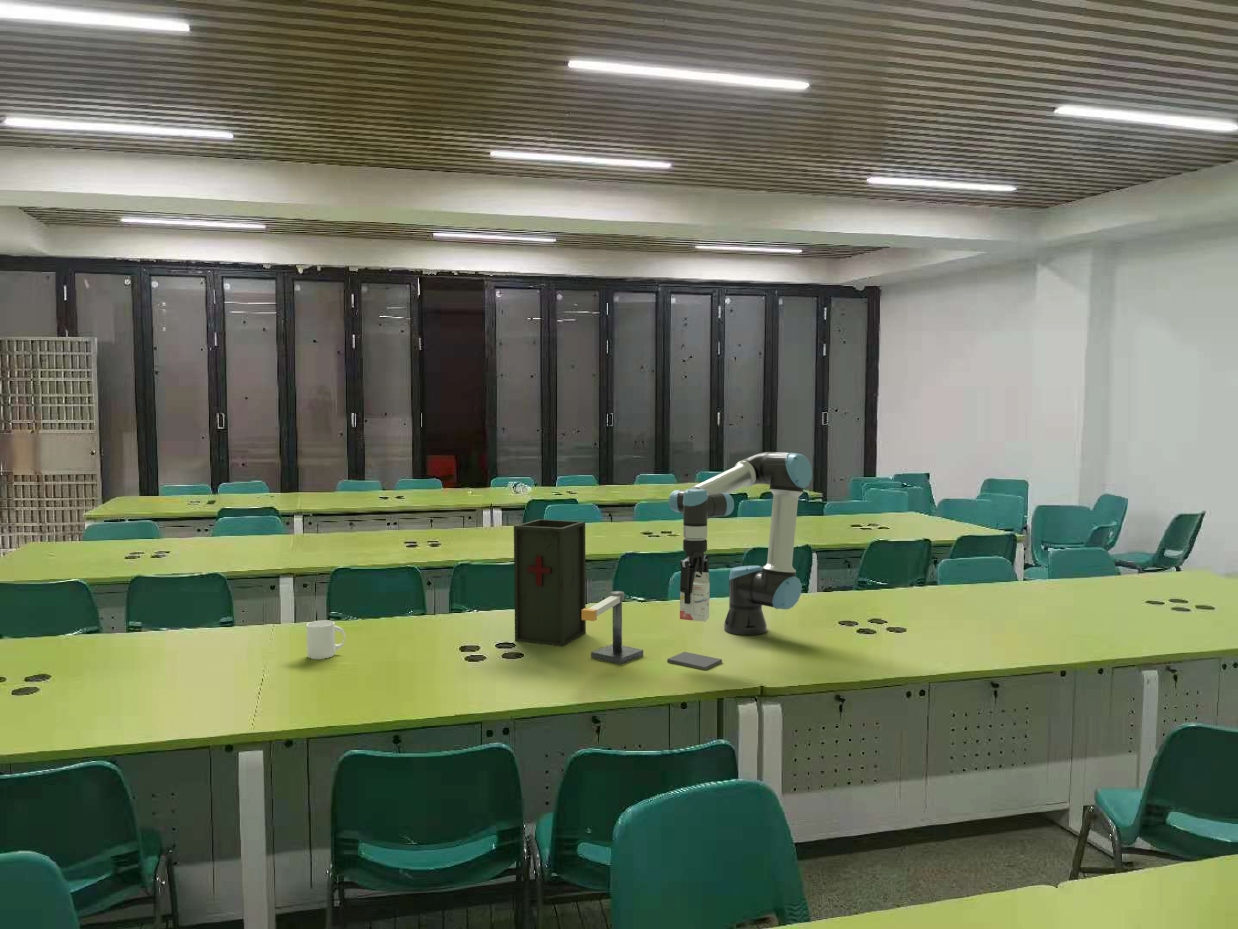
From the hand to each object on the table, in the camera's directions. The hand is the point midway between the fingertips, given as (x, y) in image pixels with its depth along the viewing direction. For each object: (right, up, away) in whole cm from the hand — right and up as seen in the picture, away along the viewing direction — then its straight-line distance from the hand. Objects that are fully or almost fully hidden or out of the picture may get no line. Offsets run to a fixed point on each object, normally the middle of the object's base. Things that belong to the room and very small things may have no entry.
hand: (694, 611), depth 270 cm
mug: (-119, -16, +10) cm, 120 cm away
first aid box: (-48, -15, +31) cm, 59 cm away
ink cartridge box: (0, -3, 0) cm, 3 cm away
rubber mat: (0, -16, +1) cm, 16 cm away
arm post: (-24, -16, +7) cm, 30 cm away
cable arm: (-28, +1, -5) cm, 29 cm away
